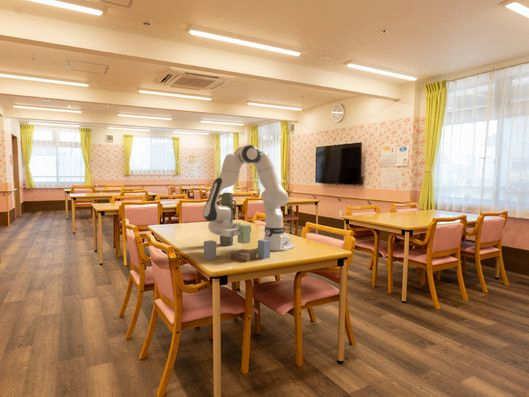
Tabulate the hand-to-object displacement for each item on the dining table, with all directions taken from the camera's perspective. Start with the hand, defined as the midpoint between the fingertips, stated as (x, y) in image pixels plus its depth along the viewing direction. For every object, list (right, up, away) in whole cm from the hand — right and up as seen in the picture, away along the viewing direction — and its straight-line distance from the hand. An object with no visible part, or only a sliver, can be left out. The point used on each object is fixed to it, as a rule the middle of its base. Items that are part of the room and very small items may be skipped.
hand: (245, 233), depth 195 cm
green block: (-1, -5, +1) cm, 6 cm away
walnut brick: (-1, -15, +2) cm, 15 cm away
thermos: (-15, -12, +38) cm, 42 cm away
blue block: (+10, -15, +5) cm, 19 cm away
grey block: (-20, -14, -1) cm, 25 cm away
